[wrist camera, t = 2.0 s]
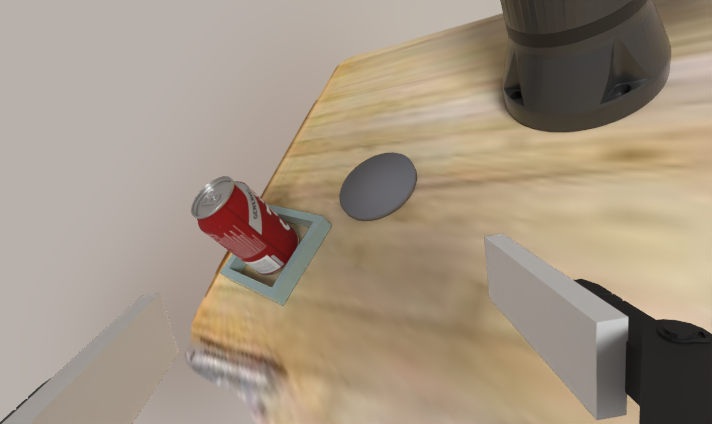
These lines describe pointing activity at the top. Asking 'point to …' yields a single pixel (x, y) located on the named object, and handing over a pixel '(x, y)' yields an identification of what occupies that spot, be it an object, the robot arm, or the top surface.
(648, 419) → the robot arm
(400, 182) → the disc
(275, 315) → the top surface
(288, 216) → the holder
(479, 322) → the top surface
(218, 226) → the soda can
